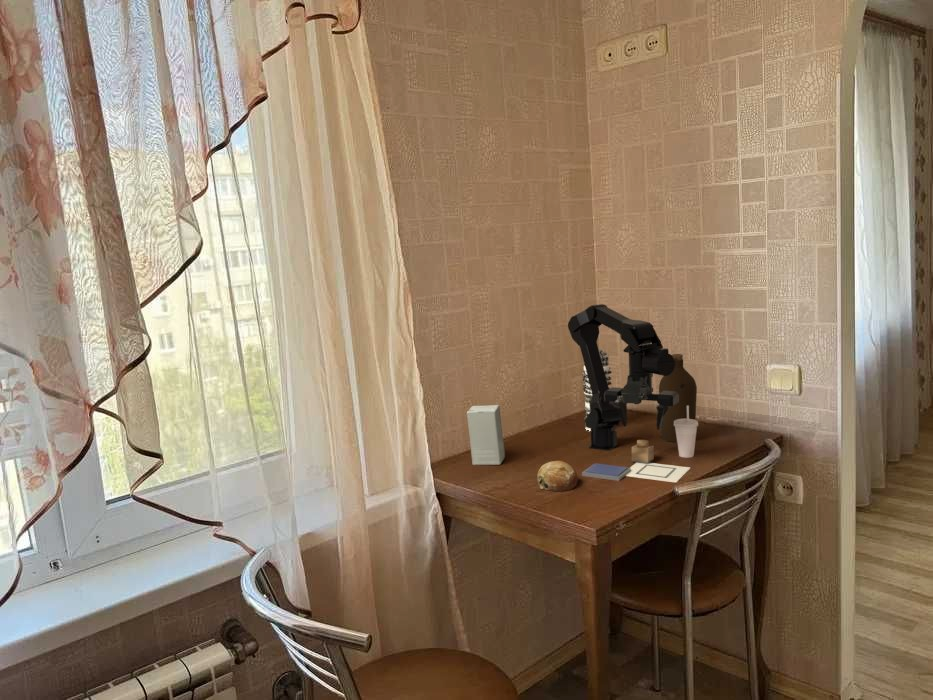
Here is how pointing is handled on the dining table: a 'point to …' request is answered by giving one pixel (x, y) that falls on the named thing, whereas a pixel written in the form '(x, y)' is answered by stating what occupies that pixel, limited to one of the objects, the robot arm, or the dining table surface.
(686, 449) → the smoothie
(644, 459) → the stamp
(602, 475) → the ink pad
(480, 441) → the skincare box
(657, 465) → the sheet
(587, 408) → the decorative candle
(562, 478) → the bread roll
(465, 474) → the dining table surface
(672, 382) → the olive oil
